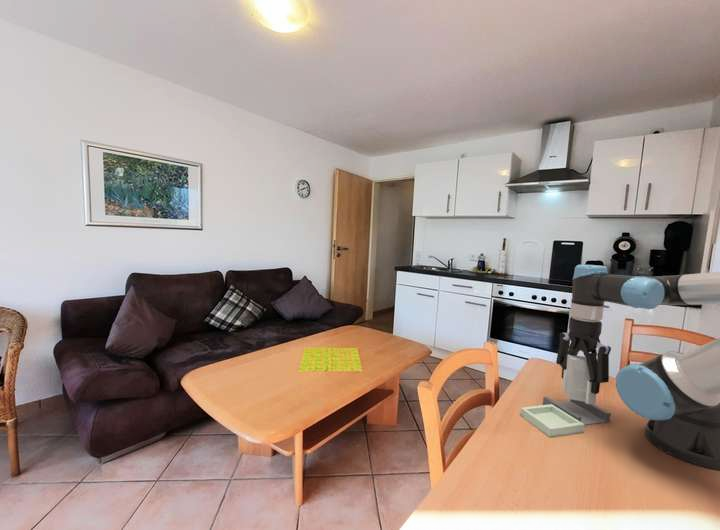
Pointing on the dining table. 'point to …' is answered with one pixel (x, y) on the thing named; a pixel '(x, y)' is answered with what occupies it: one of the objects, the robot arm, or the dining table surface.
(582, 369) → the skincare box
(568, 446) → the dining table surface
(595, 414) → the tray
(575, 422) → the tray
